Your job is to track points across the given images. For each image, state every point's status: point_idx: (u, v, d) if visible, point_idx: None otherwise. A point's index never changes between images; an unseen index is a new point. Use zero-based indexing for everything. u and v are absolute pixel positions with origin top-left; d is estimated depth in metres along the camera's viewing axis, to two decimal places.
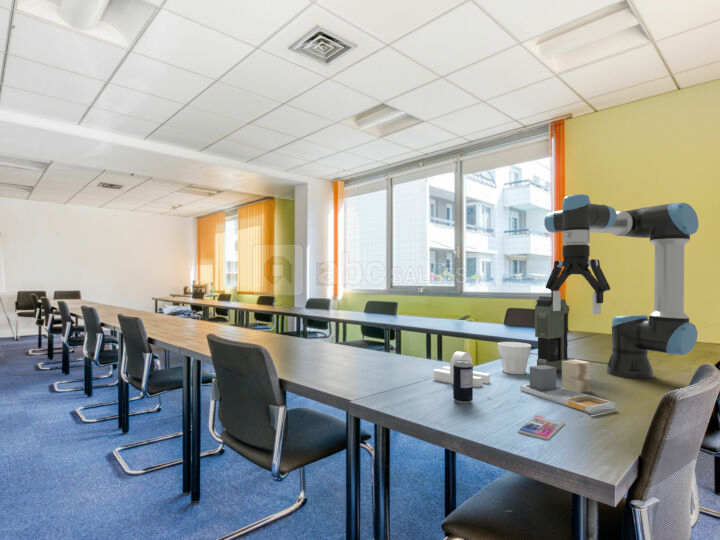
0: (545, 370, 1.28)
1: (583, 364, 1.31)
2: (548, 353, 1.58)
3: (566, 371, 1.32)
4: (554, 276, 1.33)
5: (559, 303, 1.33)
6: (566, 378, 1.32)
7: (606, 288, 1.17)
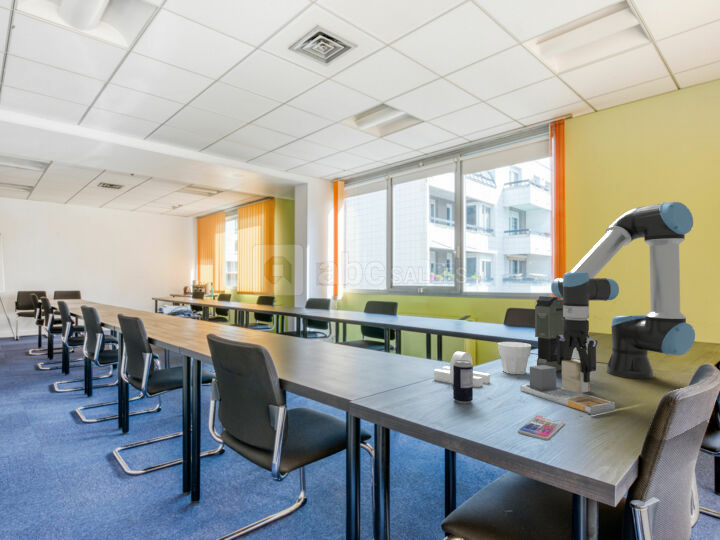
0: (545, 370, 1.28)
1: None
2: (548, 353, 1.57)
3: (566, 371, 1.32)
4: (561, 350, 1.37)
5: None
6: (566, 378, 1.32)
7: (592, 369, 1.27)
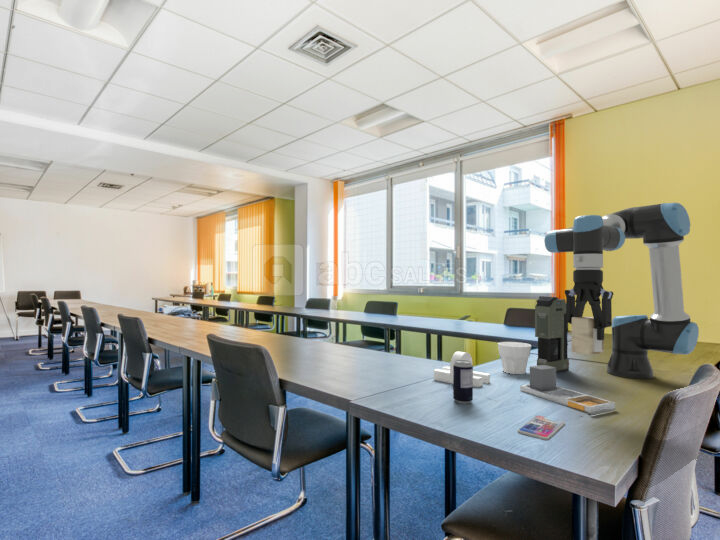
0: (545, 370, 1.28)
1: None
2: (548, 353, 1.58)
3: (577, 328, 1.16)
4: (570, 307, 1.21)
5: None
6: (576, 337, 1.16)
7: (607, 325, 1.11)
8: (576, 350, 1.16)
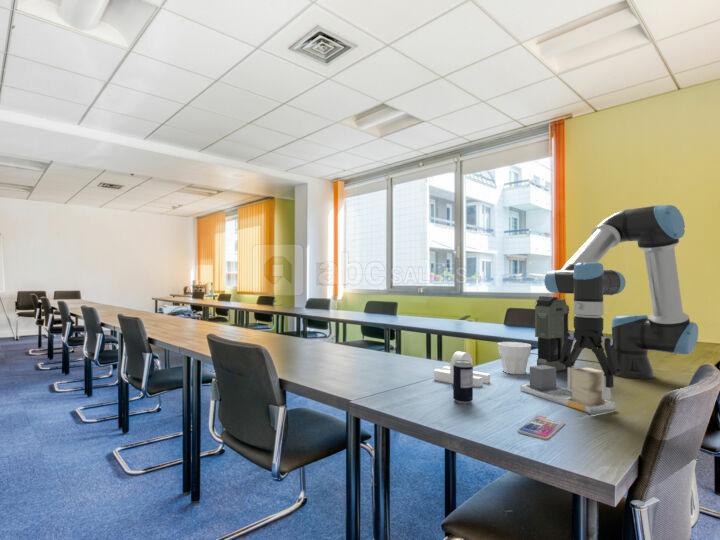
0: (545, 370, 1.28)
1: (597, 373, 1.14)
2: (548, 353, 1.58)
3: (578, 381, 1.16)
4: (567, 349, 1.22)
5: None
6: (577, 390, 1.16)
7: (616, 373, 1.09)
8: None
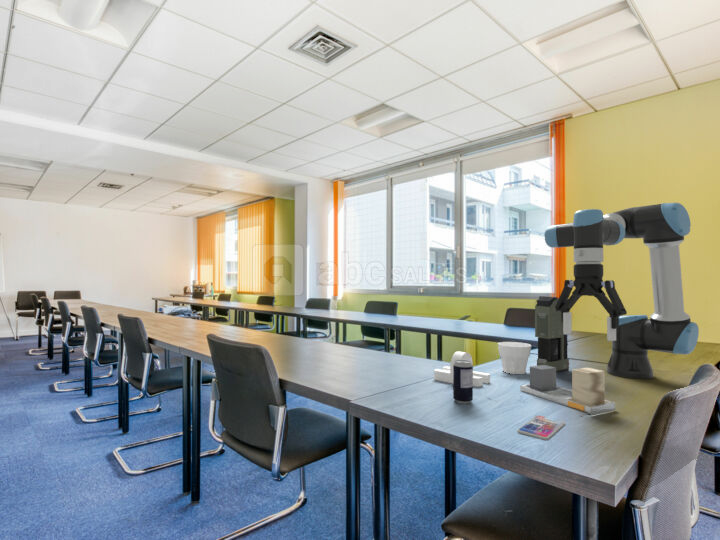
0: (545, 370, 1.28)
1: (597, 373, 1.14)
2: (548, 353, 1.58)
3: (578, 381, 1.16)
4: (564, 296, 1.23)
5: (570, 326, 1.23)
6: (577, 390, 1.16)
7: (622, 313, 1.08)
8: None
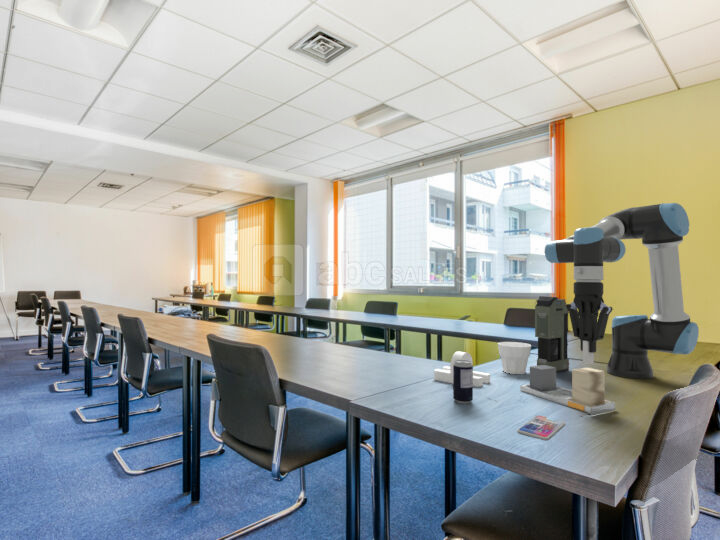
0: (545, 370, 1.28)
1: (597, 373, 1.14)
2: (548, 353, 1.58)
3: (578, 381, 1.16)
4: (575, 320, 1.20)
5: None
6: (577, 390, 1.16)
7: (599, 337, 1.13)
8: None
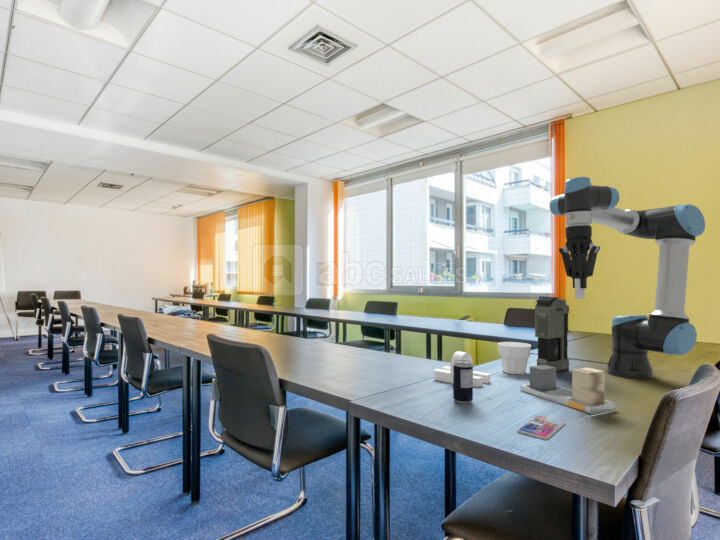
0: (545, 370, 1.28)
1: (597, 373, 1.14)
2: (548, 353, 1.58)
3: (578, 381, 1.16)
4: (567, 262, 1.34)
5: None
6: (577, 390, 1.16)
7: (589, 274, 1.28)
8: None
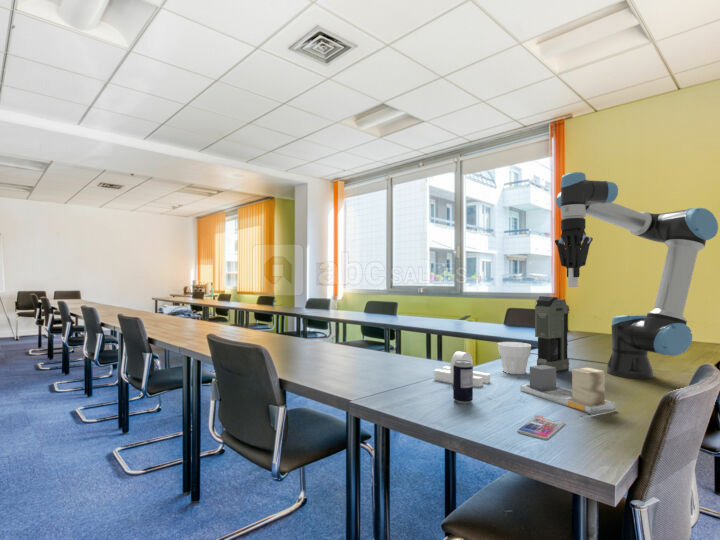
0: (545, 370, 1.28)
1: (597, 373, 1.14)
2: (548, 353, 1.58)
3: (578, 381, 1.16)
4: (562, 252, 1.42)
5: None
6: (577, 390, 1.16)
7: (581, 264, 1.36)
8: None
